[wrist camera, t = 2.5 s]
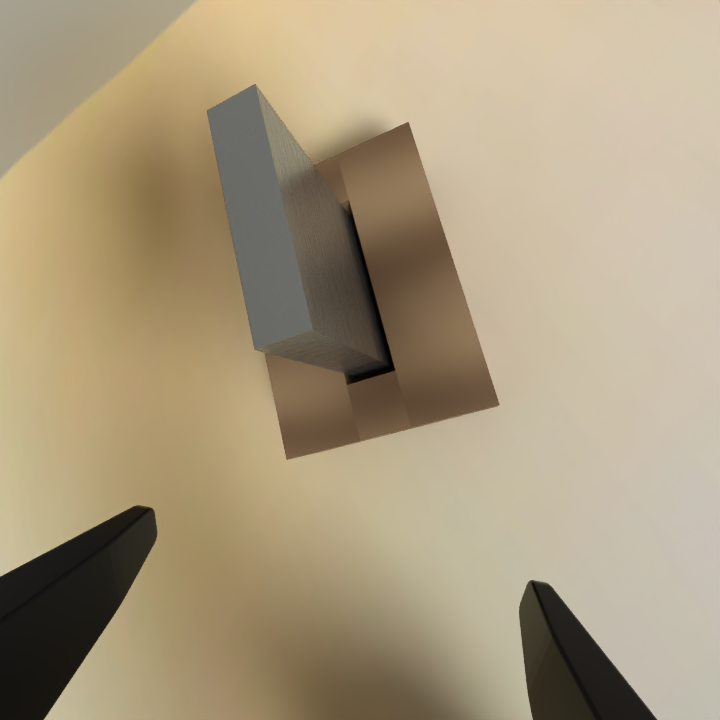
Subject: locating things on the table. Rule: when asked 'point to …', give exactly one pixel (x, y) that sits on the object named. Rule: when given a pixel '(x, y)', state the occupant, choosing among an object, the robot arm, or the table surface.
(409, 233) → the walnut slot box
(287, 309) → the gray rectangular metal block
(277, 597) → the table surface
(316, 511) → the table surface
